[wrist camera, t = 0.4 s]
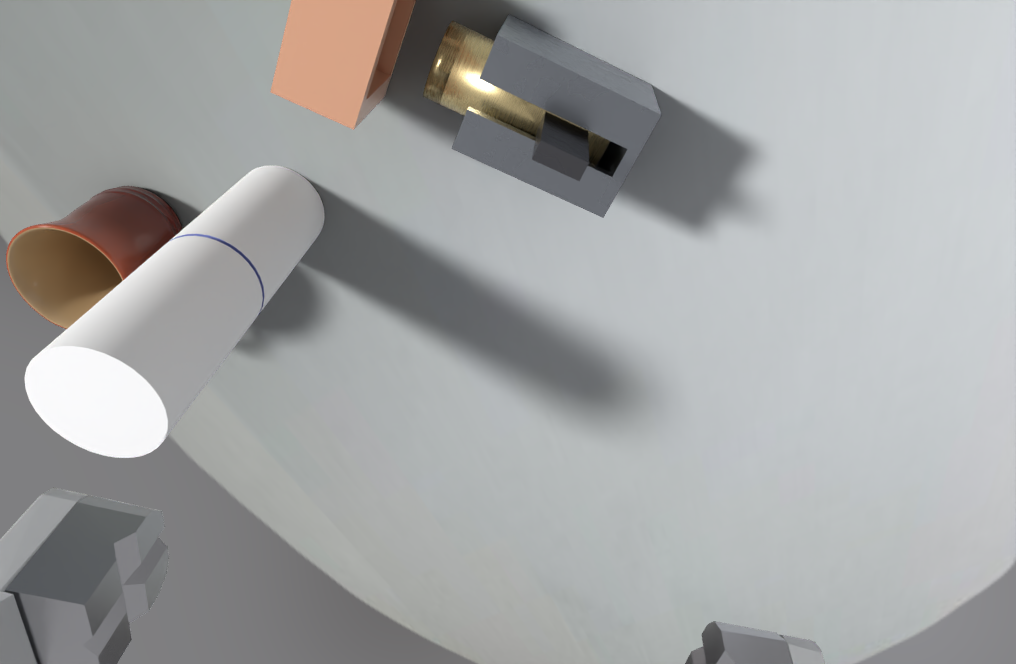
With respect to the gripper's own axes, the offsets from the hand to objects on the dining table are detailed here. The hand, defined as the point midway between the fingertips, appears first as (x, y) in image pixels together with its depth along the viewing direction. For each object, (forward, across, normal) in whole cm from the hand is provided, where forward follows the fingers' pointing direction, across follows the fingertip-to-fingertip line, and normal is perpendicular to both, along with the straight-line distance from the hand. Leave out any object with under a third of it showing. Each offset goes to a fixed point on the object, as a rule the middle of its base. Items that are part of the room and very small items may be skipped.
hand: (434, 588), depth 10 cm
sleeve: (+44, -1, +4) cm, 44 cm away
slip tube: (+42, +1, +3) cm, 42 cm away
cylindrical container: (+44, +18, +17) cm, 50 cm away
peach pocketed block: (+44, +12, +1) cm, 45 cm away
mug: (+44, +30, +22) cm, 58 cm away
